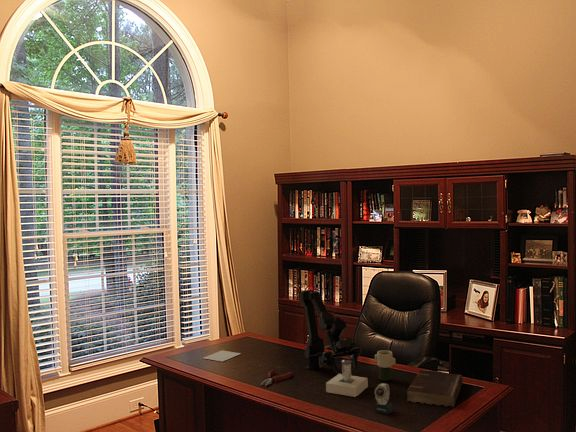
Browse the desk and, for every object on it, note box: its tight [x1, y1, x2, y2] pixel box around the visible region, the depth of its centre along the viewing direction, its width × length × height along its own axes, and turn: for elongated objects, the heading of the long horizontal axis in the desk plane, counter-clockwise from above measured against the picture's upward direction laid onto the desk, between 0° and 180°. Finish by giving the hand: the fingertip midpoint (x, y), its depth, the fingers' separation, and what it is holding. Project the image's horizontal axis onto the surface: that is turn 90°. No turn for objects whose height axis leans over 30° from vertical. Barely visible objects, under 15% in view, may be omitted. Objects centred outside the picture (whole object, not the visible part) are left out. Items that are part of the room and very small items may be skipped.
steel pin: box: [340, 358, 352, 384], centre depth 238 cm, size 5×5×13 cm
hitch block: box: [325, 373, 369, 398], centre depth 238 cm, size 14×14×4 cm
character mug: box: [374, 349, 396, 382], centre depth 249 cm, size 11×7×13 cm, turn 48°
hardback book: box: [406, 369, 463, 408], centre depth 232 cm, size 29×19×5 cm, turn 156°
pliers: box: [259, 368, 293, 387], centre depth 253 cm, size 12×20×3 cm, turn 152°
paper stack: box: [203, 350, 242, 362], centre depth 289 cm, size 23×25×1 cm
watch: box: [374, 382, 393, 415], centre depth 212 cm, size 6×8×11 cm
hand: (347, 372), depth 237 cm, fingers open, 9 cm apart
